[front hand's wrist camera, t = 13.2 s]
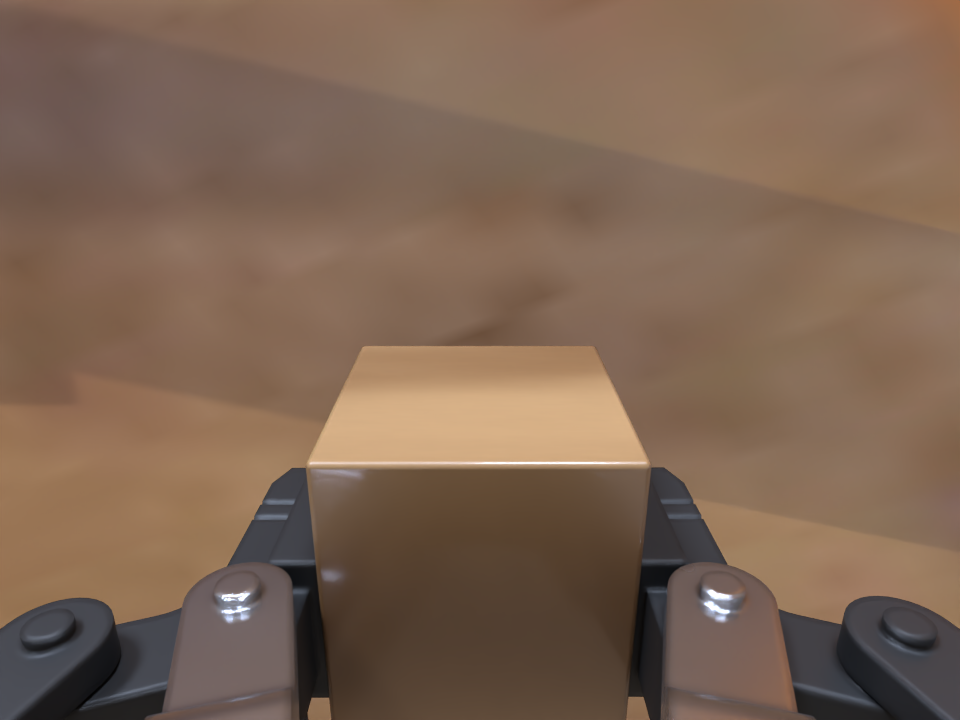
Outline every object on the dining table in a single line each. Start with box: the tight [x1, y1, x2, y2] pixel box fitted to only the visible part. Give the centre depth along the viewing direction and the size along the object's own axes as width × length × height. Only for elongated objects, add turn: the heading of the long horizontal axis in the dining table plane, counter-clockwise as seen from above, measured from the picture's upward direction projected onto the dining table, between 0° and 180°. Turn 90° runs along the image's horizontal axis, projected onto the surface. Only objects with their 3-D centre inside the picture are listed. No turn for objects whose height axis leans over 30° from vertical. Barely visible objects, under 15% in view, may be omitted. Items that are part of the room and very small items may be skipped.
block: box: [306, 346, 651, 720], centre depth 11 cm, size 5×4×4 cm
